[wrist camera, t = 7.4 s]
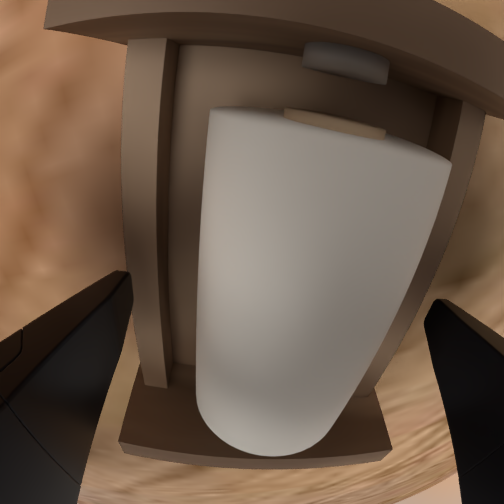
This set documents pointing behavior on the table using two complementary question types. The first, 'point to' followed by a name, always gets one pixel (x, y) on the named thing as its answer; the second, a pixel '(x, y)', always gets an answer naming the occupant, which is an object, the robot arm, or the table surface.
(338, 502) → the table surface
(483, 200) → the table surface
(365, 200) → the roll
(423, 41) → the cradle
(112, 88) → the table surface
